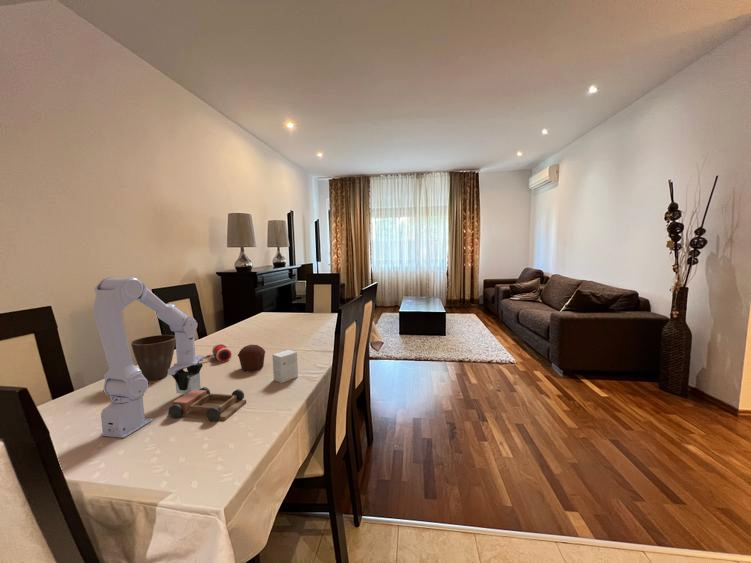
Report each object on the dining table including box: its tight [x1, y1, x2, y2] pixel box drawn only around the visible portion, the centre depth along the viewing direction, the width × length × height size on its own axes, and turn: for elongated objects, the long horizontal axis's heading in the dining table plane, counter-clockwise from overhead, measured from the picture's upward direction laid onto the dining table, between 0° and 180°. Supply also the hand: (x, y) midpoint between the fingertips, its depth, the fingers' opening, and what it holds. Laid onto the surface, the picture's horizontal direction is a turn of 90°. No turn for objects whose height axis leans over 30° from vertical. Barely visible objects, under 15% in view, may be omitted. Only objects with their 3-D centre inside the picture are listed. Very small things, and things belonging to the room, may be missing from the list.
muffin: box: [237, 344, 266, 373], centre depth 140 cm, size 12×11×10 cm
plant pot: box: [130, 334, 176, 382], centre depth 131 cm, size 15×15×16 cm
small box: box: [272, 349, 299, 384], centre depth 127 cm, size 8×6×10 cm
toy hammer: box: [173, 343, 232, 366], centre depth 148 cm, size 23×12×6 cm, turn 127°
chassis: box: [167, 386, 247, 422], centre depth 104 cm, size 14×20×4 cm
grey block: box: [175, 372, 202, 395], centre depth 114 cm, size 4×6×6 cm
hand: (188, 386), depth 114 cm, fingers closed on grey block, 4 cm apart
